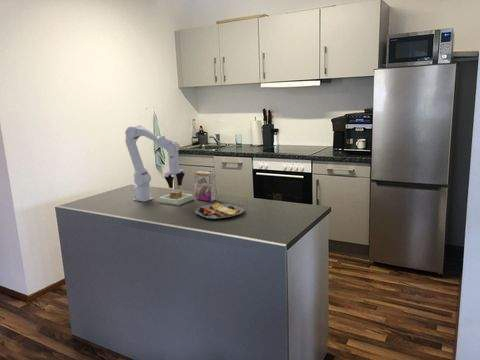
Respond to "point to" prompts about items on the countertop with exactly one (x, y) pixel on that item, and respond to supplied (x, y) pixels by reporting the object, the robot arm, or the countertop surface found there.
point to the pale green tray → (167, 199)
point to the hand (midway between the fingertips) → (175, 186)
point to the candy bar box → (205, 186)
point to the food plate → (218, 210)
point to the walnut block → (176, 195)
